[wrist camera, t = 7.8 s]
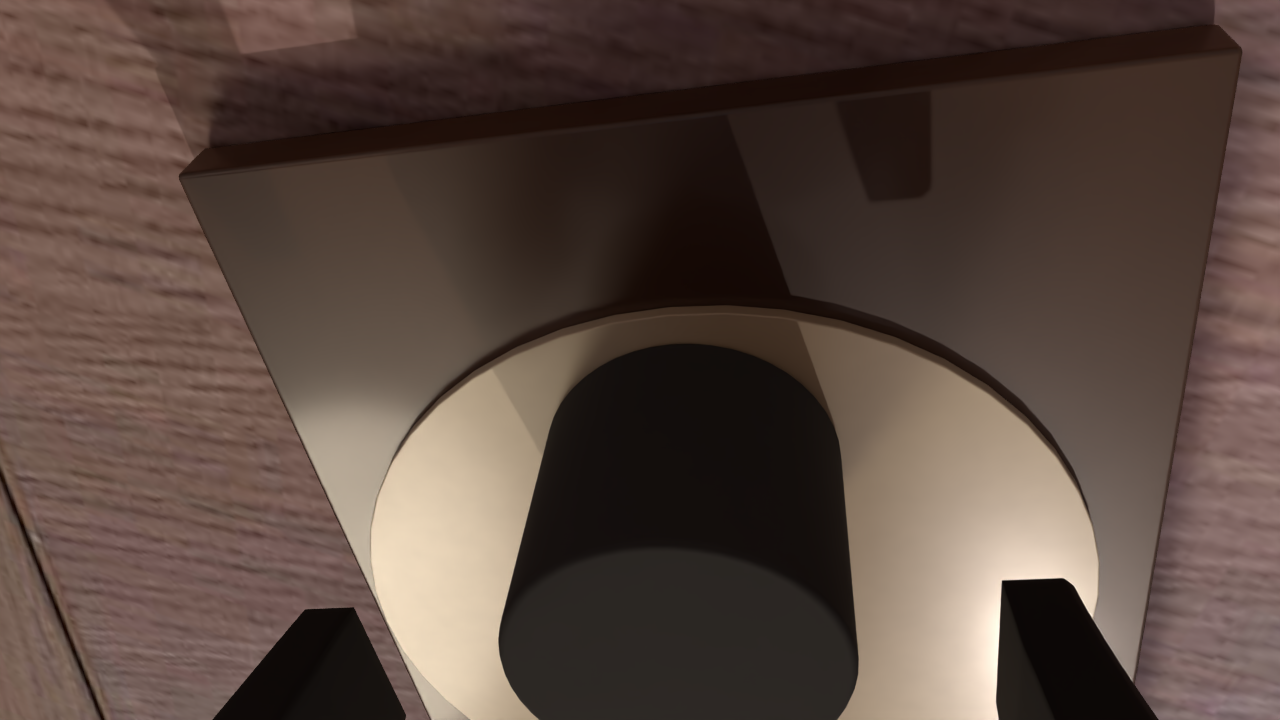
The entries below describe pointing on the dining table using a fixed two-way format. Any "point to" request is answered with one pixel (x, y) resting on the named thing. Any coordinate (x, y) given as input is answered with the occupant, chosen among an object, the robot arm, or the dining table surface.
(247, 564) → the dining table surface
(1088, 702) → the robot arm
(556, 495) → the dot
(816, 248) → the board
